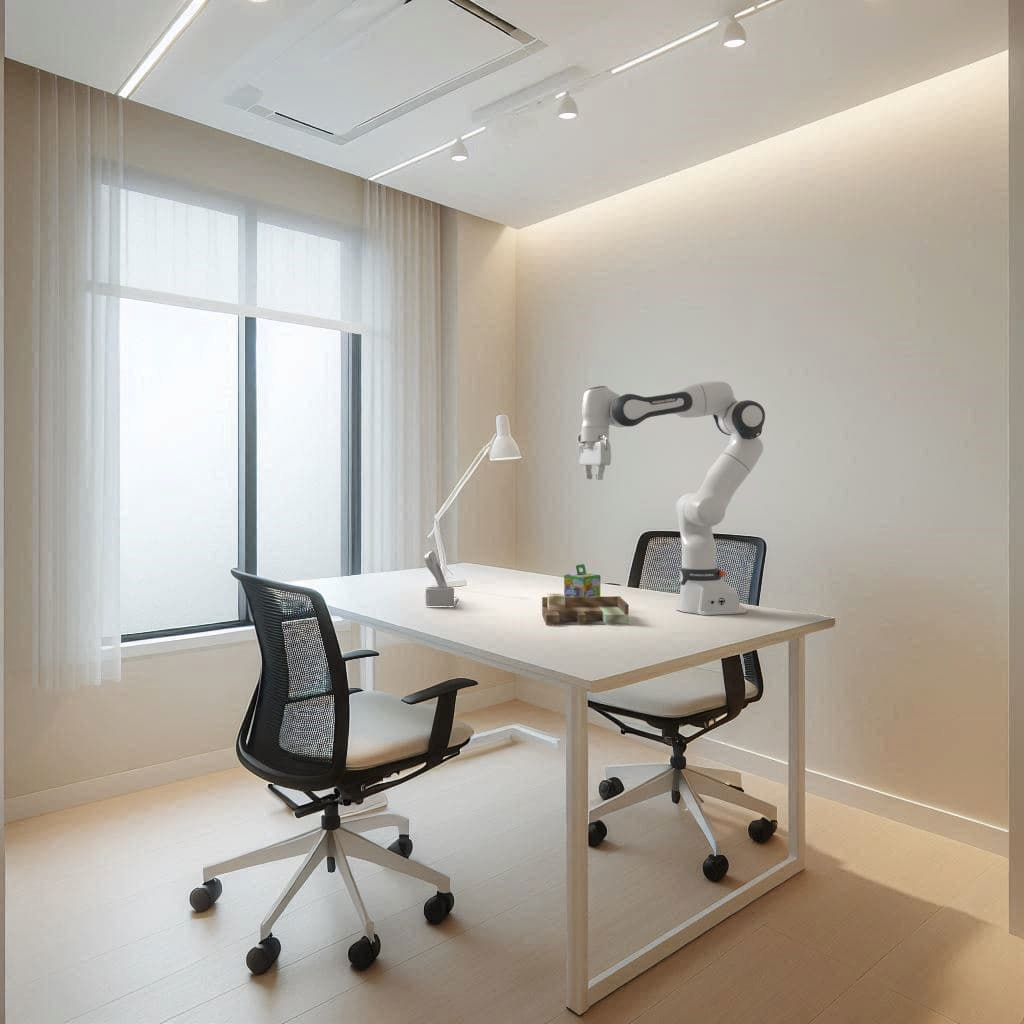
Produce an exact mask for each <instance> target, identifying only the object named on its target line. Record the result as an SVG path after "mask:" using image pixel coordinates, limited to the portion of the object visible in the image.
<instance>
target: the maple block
mask: <svg viewBox="0 0 1024 1024" xmlns="http://www.w3.org/2000/svg"><path fill="white" fill-rule="evenodd" d="M547 597H548V610H549V611H563V610H565V595H564V592H563V593H547Z"/></svg>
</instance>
